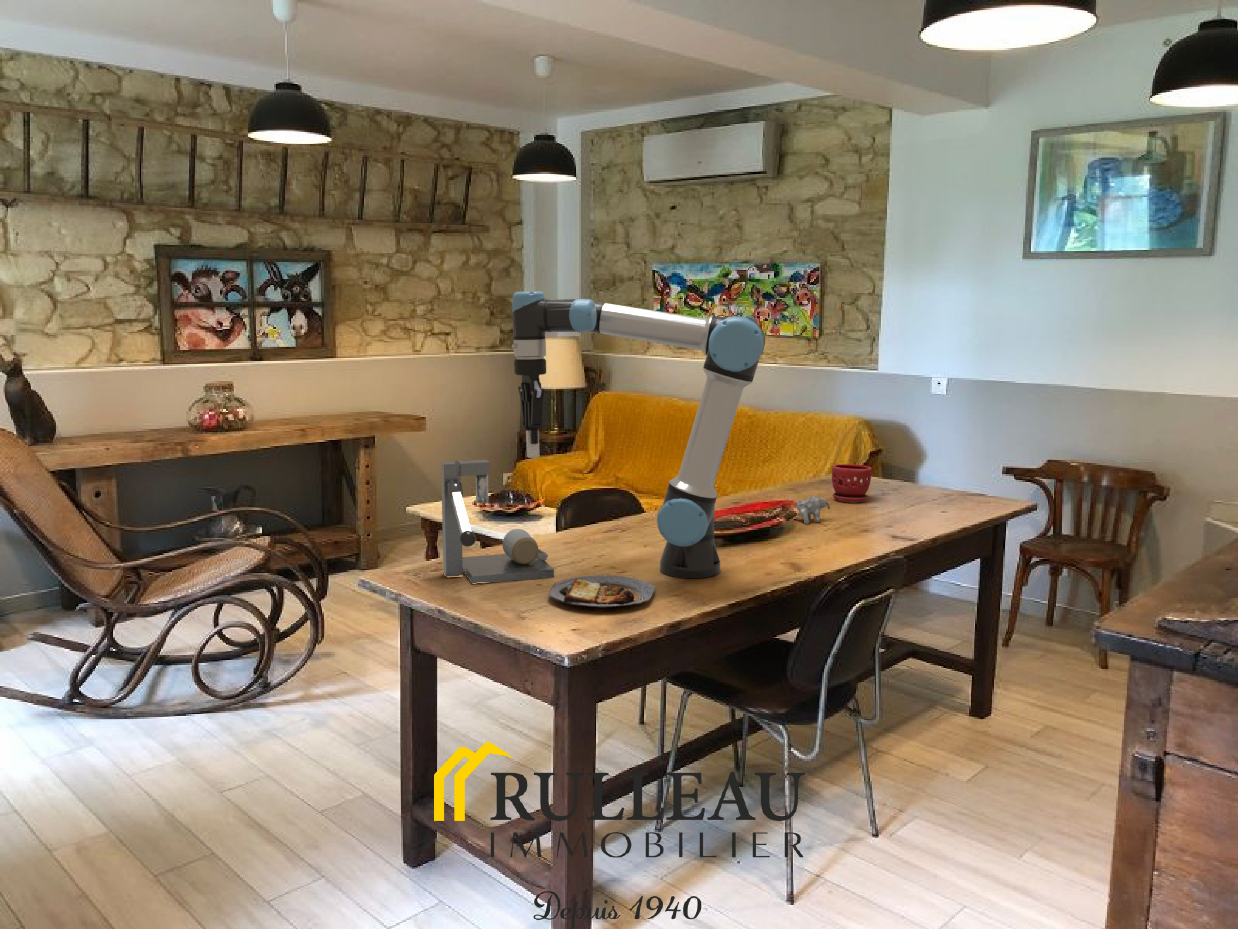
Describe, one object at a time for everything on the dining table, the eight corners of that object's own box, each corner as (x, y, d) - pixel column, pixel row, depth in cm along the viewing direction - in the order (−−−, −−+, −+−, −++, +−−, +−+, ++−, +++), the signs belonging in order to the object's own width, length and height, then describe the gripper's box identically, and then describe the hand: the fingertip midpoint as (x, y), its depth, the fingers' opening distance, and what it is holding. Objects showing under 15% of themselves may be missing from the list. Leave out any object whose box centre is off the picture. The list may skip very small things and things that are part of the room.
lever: (476, 550, 217) (477, 536, 214) (460, 551, 216) (461, 537, 213) (460, 491, 232) (461, 478, 230) (445, 492, 231) (446, 479, 229)
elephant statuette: (787, 522, 299) (787, 498, 298) (810, 514, 307) (811, 490, 306) (812, 527, 293) (812, 503, 291) (835, 519, 301) (835, 495, 299)
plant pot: (874, 504, 324) (876, 469, 322) (834, 504, 325) (836, 469, 323) (865, 496, 337) (866, 462, 335) (827, 496, 337) (828, 462, 335)
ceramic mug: (512, 567, 237) (512, 536, 236) (501, 559, 244) (502, 529, 243) (552, 563, 241) (553, 533, 240) (541, 555, 249) (541, 526, 247)
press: (553, 577, 236) (553, 463, 231) (451, 586, 228) (449, 469, 223) (534, 558, 253) (534, 452, 248) (438, 567, 244) (436, 457, 240)
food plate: (645, 617, 206) (645, 601, 206) (539, 612, 210) (538, 596, 210) (659, 587, 231) (659, 572, 230) (564, 583, 235) (564, 569, 234)
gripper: (506, 357, 233) (510, 454, 236) (522, 359, 221) (526, 461, 224) (536, 356, 235) (539, 452, 239) (553, 358, 223) (556, 459, 227)
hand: (533, 456), depth 232 cm, fingers closed
